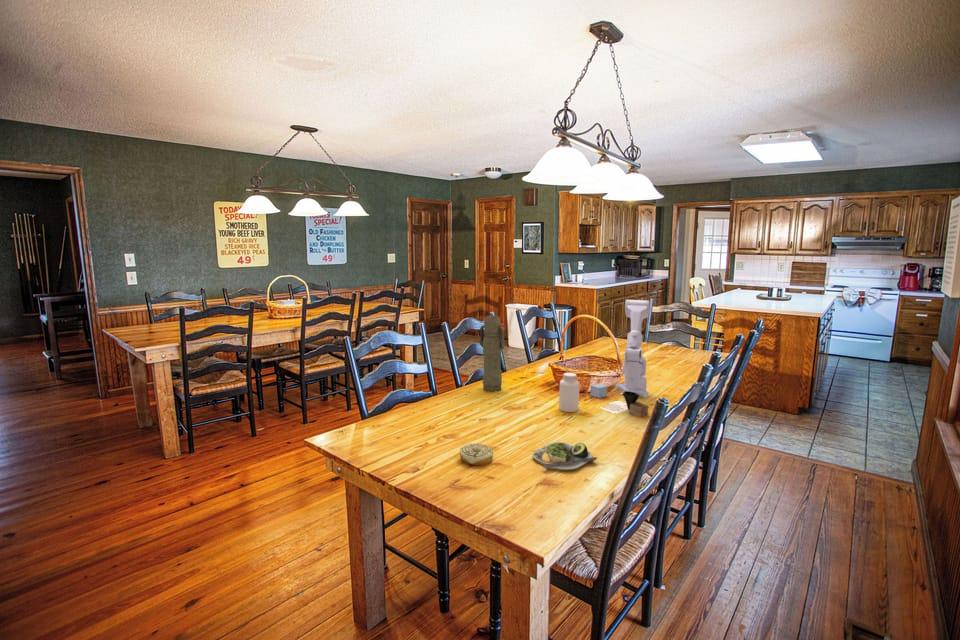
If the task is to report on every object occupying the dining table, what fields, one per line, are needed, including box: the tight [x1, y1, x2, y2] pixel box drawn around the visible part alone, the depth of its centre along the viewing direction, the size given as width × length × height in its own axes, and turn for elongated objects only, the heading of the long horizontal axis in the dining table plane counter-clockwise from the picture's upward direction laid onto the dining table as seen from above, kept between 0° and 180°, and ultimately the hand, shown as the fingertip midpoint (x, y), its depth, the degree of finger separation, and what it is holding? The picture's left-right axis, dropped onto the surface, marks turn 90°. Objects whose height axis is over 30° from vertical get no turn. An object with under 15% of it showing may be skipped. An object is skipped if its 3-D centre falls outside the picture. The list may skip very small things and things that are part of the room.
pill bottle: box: [558, 372, 580, 413], centre depth 193 cm, size 8×8×15 cm
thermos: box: [479, 314, 505, 393], centre depth 219 cm, size 9×12×35 cm
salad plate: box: [532, 441, 598, 471], centre depth 148 cm, size 19×18×5 cm
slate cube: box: [589, 383, 608, 399], centre depth 210 cm, size 5×5×5 cm
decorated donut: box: [459, 443, 494, 466], centre depth 149 cm, size 10×11×4 cm
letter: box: [596, 400, 629, 415], centre depth 196 cm, size 14×10×1 cm
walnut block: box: [628, 401, 649, 418], centre depth 187 cm, size 5×5×4 cm
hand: (630, 409), depth 190 cm, fingers closed
